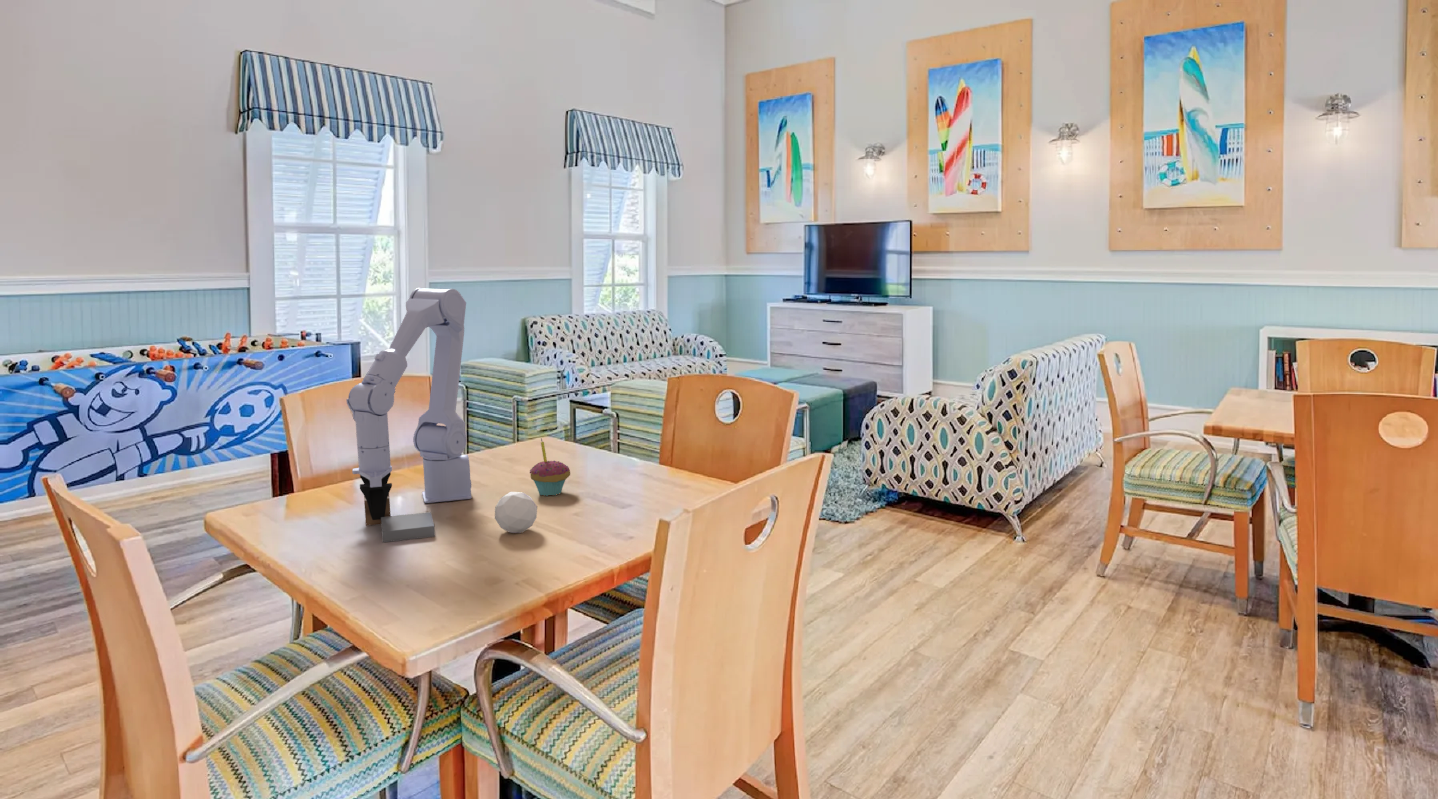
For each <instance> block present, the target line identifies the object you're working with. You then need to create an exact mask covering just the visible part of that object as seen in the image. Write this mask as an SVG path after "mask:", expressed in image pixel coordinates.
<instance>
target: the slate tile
mask: <svg viewBox="0 0 1438 799" xmlns="http://www.w3.org/2000/svg"><path fill="white" fill-rule="evenodd" d="M380 525H381V538H382V543H387V542H397V541H407V540H414V539H415V540H416V539H423V538H430V537H431V538H432V537H435V536H436V532H435V523H434V520H433V515H432V511H427V512H418V513H407V514H401V515H400V514H399V515H391V516H388V517H381V524H380Z"/></svg>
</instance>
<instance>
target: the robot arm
mask: <svg viewBox="0 0 1438 799" xmlns="http://www.w3.org/2000/svg"><path fill="white" fill-rule="evenodd" d="M466 306H467V302H466V300H465V298H464V297H463V296H462V294H461V293H460V292H459V290H457V289H455V288H447V289H443V288H441V289H440V288H424V287H417V288H415V289H414V290H412V292H411V293H410V295H409V297H408V299H407V301H406V302H405V309H406V314H405V315H404V318H403V319H402V322H401V323H400V325H399V327H398V329H397V331H396V333H395V336H394V338H393V340H392V342H391V344H390V346H389V348H387V349H384V350H380V351H379V352H378V353H377V354H376V355H375V357H374V361H372V364H371V366H370V368H369V369H368V370H367V373H365V376H364V377H363V379H362V381H361V382H359V383H358V384H355V385H354V386H353V387H352V388H351V389H350V391H349V392H348V398H346V404H347V407H348V409H349V410H350V411H351V413H352V420H354V423H355V431H356V433H355V434H356V446H357V460H358V461H357V462H358V467H355V468H352V469H351V470H352V471H351V472H352V474H353V475H359V478H360V479H361V482H363V483H360V484H359V489H360V491H361V493H362V495H363V497H364V496H365V498H366V500H367V503H368V507H369V511H370V515H371V518H372V520H380V519H381V517H385V511H386V502H387V497H388V494H389V495H390V491H392V486H393V483H392V482H390V483H388V481H389V479H390V476H391V472H392V471H393V466H392V465H391V452H390V451H391V450H390V438H389V437H390V434H389V432H390V431H389V421H388V420H389V419H388V418H389V417H388V412H390V410H391V409H392V408H393V406H394V404H395V393H396V387H397V385H398V384H399V381H400V380H401V379H402V376H403V375H404V372H405V371H406V369H407V367H408V362H407V359H406V357H407V356H408V354H409V353H410V351H411V349H413V347H414V346H415V344H416V343H417V341H418V340H419V338H420V337H421V336H422V334H423V333H424V331H425V329H426V328H429V329H431V331H433V334H435V336H436V339H435V348H434V357H433V366H432V376H431V383H430V384H431V386H430V395H429V401H428V402H429V404H428V410H427V411H425V412H424V413H423V414H422V415H420V416H419V417H418V424H417V427H416V429H415V431H414V434H413V436H412V438H413V441H412V442H413V446H414V448H415V450H417V452H419V456H420V457H421V458H422V463H423V464H422V465H423V484H424V486H423V487H424V491H422V492H421V493H422V495H421V496H422V499H423V503H424V504H431V503H439V502H451V501H460V500H462V501H463V500H470V499H472V480H471V466H470V457H469V455H468V454H462V453H463V452H464V451H465V449H466V445H467V435H466V422H465V421H464V419H463V418H462V417H461V416H460V415H459V414H458V412H457V401H458V394H459V392H458V391H459V385H460V384H459V383H460V373H461V366H462V365H461V363H462V355H463V346H464V337H465V317H466V310H467V309H466ZM439 424H442V425H439Z"/></svg>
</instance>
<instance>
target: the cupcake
mask: <svg viewBox="0 0 1438 799" xmlns="http://www.w3.org/2000/svg"><path fill="white" fill-rule="evenodd" d="M540 441H541V442H540V446H541V452H542V458H543V460H542V461H540V462H538V463H537V464H535V465H534V466H533V467H531V468H530V470H529V474H530V480H532V481H533V482H534V484H535V486H536V488H537V492H538V495H540V496H542V495H544V496H543V497H549V496H548V495H555V496H557V495H556V494H559V493H560V494H562V491H563V487H564V484H565V482H566V480H567V479H568V478H570V476H571V470H570V467H569V466H568V465H567V464H564V463H563V462H561V461H557V460H548V459H547V452H546V445H545V442H544V441H543V439H542V438H540ZM560 494H559V495H560ZM545 495H546V496H545Z"/></svg>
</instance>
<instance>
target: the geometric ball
mask: <svg viewBox="0 0 1438 799" xmlns="http://www.w3.org/2000/svg"><path fill="white" fill-rule="evenodd" d="M537 515H538V506H537V504H536V502H535V501H534V500H533V498H532V497H531V496H530V495H528V494H527V493H526V492H521V491H520V492H519V491H509V492H508V493H506V494H505V495H503V496H502V497H500V499H499V500H498V502H497V504H496V505H495V509H494V519H495V522H497V524H498V526H499V527H500V529H502V530H504V531H506V532H508V533H510V534H514V533H515V534H522V533H524V532H525V531H527V530H528V529H530V528H531V527H532V526H533V525H534V523H535V521H536V520H537ZM521 532H522V533H521Z"/></svg>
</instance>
